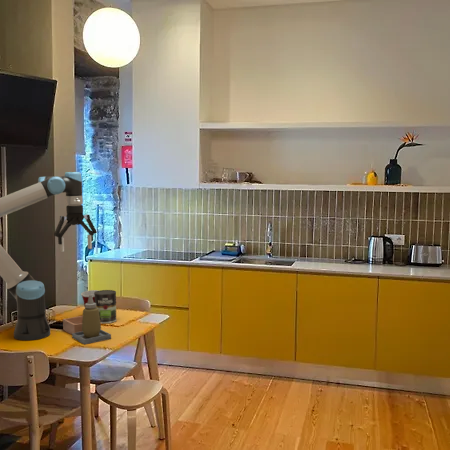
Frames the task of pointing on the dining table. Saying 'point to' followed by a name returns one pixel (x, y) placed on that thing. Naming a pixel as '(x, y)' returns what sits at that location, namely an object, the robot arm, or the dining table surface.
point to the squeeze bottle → (91, 319)
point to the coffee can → (106, 305)
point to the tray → (84, 340)
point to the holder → (73, 324)
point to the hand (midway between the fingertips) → (76, 249)
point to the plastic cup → (86, 295)
